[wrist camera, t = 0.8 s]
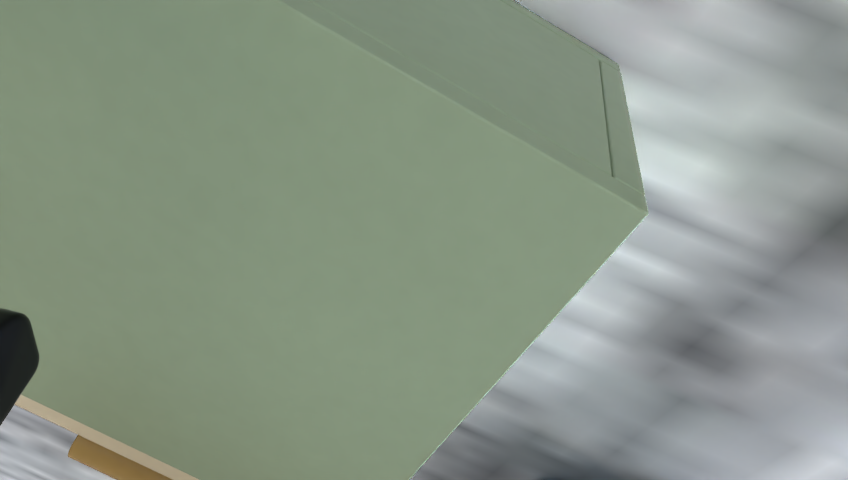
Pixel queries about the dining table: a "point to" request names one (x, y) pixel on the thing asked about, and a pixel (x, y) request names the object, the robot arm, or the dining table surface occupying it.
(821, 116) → the dining table surface
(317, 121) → the cabinet
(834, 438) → the dining table surface
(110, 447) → the drawer
